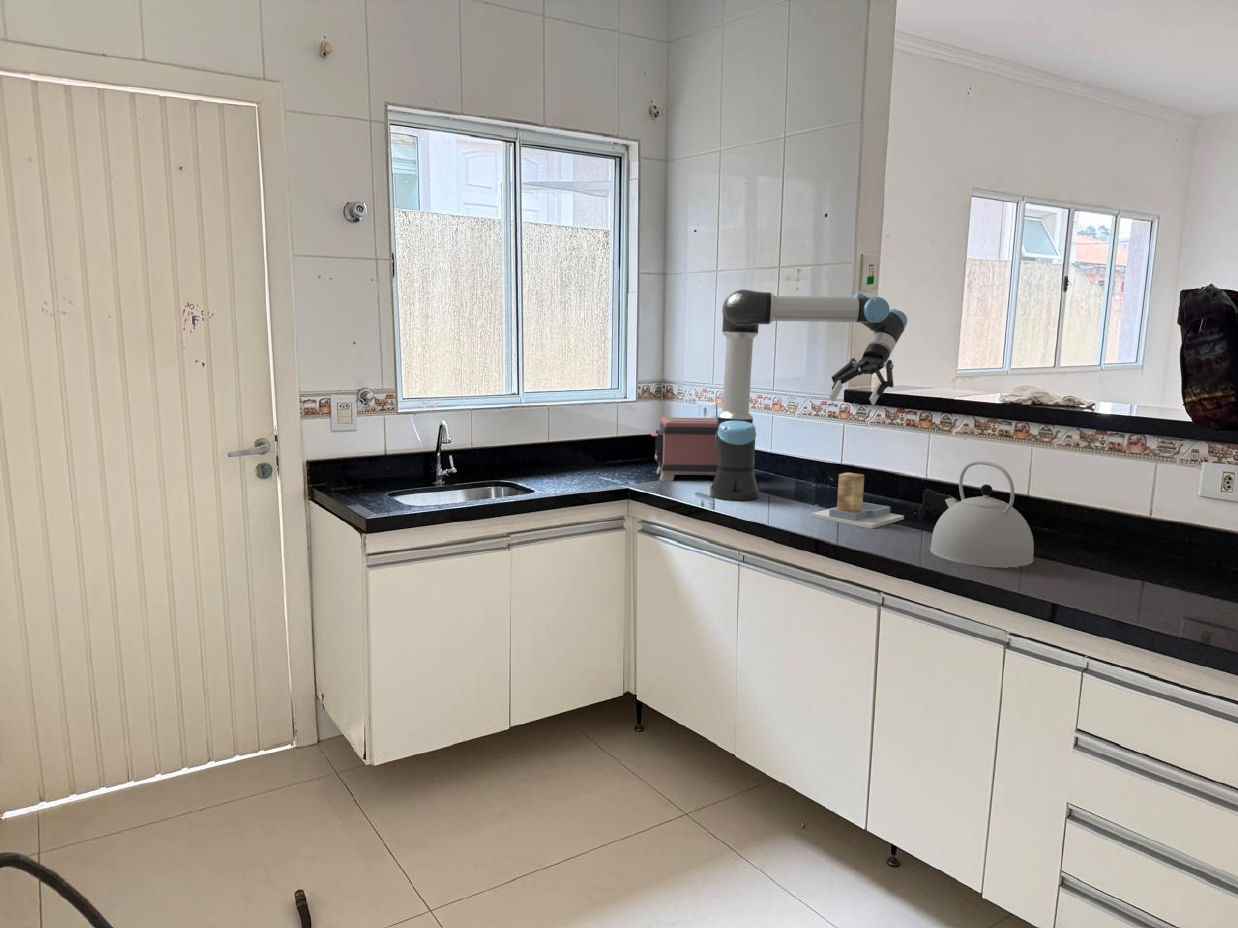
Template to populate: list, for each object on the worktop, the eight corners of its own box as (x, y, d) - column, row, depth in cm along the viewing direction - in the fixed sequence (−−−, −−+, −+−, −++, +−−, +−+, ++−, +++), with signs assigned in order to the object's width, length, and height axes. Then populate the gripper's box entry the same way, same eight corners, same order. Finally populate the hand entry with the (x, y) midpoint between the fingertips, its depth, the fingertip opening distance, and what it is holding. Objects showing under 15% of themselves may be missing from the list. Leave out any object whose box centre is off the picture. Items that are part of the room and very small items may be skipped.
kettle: (905, 543, 211) (911, 454, 208) (979, 538, 218) (987, 452, 215) (974, 570, 188) (982, 471, 184) (1055, 564, 194) (1065, 468, 191)
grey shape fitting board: (811, 516, 240) (811, 506, 239) (843, 508, 252) (844, 498, 252) (872, 528, 227) (872, 517, 226) (903, 519, 239) (904, 508, 239)
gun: (962, 544, 235) (982, 514, 232) (910, 515, 236) (930, 484, 234) (960, 542, 237) (980, 512, 235) (909, 513, 239) (928, 483, 237)
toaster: (648, 472, 312) (649, 416, 309) (739, 473, 313) (742, 418, 310) (652, 481, 293) (653, 422, 290) (749, 482, 294) (752, 423, 291)
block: (836, 516, 236) (838, 474, 234) (845, 514, 240) (848, 472, 238) (852, 519, 233) (855, 476, 231) (861, 517, 236) (864, 474, 234)
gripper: (919, 360, 259) (893, 411, 251) (847, 357, 277) (819, 405, 268) (913, 343, 255) (885, 394, 247) (839, 341, 272) (811, 389, 264)
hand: (851, 400), depth 257 cm, fingers open, 13 cm apart
